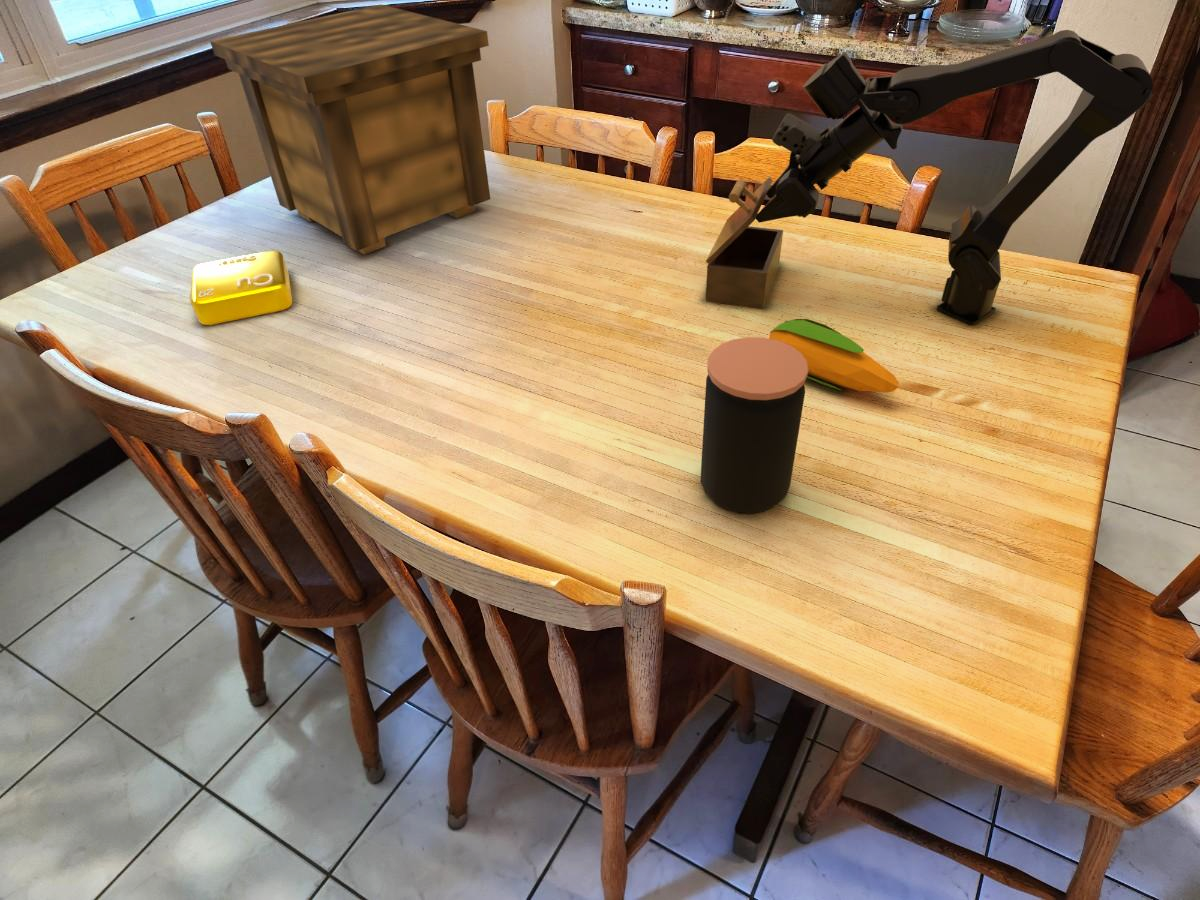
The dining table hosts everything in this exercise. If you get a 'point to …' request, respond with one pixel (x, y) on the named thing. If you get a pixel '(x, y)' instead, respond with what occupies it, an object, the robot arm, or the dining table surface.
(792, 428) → the coffee jar
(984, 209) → the robot arm
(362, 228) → the crate
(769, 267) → the brown wooden box
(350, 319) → the dining table surface
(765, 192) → the brown box lid
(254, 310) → the element tile
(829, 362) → the corn
